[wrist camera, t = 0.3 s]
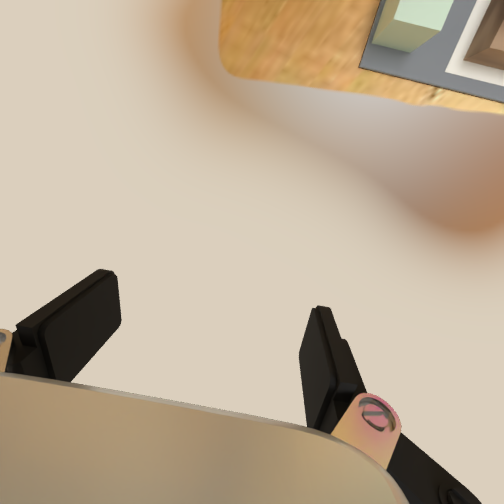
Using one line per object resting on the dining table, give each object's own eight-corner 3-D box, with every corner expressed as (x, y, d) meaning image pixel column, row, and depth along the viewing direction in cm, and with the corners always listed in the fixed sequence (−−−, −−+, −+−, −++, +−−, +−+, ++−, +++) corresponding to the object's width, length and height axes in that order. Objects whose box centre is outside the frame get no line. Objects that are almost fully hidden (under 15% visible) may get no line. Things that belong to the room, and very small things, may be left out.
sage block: (389, -10, 28) (417, -50, 22) (430, 0, 28) (469, -37, 22) (371, 43, 30) (393, 19, 24) (410, 52, 30) (440, 30, 24)
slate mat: (410, -90, 26) (412, -94, 25) (607, -40, 26) (612, -43, 25) (358, 67, 31) (359, 66, 31) (521, 107, 31) (524, 106, 31)
